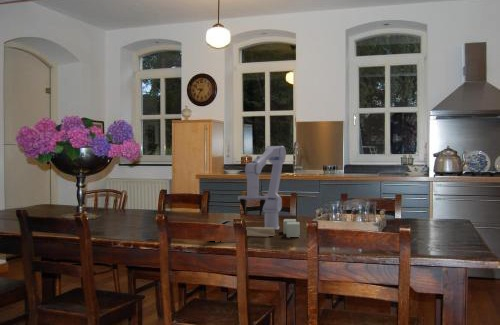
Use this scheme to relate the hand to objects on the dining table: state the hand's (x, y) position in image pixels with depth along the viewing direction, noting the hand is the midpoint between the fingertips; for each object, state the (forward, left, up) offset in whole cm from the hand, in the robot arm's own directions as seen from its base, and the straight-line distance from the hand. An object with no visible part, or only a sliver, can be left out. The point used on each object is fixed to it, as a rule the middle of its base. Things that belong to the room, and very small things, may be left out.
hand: (252, 214), depth 238 cm
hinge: (+16, -12, -10) cm, 22 cm away
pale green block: (-7, +18, -10) cm, 22 cm away
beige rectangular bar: (+3, +4, -10) cm, 11 cm away
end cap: (+3, +20, -10) cm, 22 cm away
